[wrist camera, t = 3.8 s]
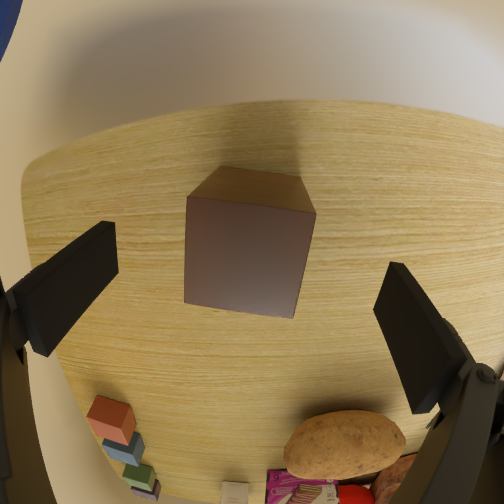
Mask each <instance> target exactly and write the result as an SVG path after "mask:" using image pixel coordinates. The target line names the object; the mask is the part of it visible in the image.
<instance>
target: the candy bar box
mask: <svg viewBox="0 0 504 504" xmlns="http://www.w3.org/2000/svg"><path fill="white" fill-rule="evenodd" d="M265 504H339V490H338V480H335V479H303V478H299V477H295V476H293V475H292V474H290V473H289V472H288V470H268V471H267V482H266V494H265Z"/></svg>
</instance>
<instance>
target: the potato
mask: <svg viewBox="0 0 504 504" xmlns="http://www.w3.org/2000/svg"><path fill="white" fill-rule="evenodd" d="M405 446H406V438H405V437H404V435H403V434H402V432H401V430H400V429H399V427H398V426H397V425H396V424H395V422H393V421H391V420H390V419H388V418H386V417H385V416H383V415H381V414H379V413H377V412H371V411H361V410H344V411H336V412H331V413H326V414H322V415H318V416H314V417H312V418H309V419H307V420H305V421H304V422H303V423H302V424H301V425H300V426H298V427H297V428H296V430H295V431H294V433H293V435H292V436H291V438H290V439H289V441H288V443H287V444H286V446H285V450H284V461H285V464H286V467H287V470H288V472H289V473H290V474H292V475H293V476H295V477H299V478H303V479H335V480H342V479H348V478H353V477H356V476H360V475H363V474H369V473H374V472H378V471H380V470H383V469H385V468H387V467H389V466H390V465H392V464H393V463H394V462H396V461H397V459H398V458H399V457H400V456H401V454H402V453H403V451H404V450H405Z"/></svg>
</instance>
